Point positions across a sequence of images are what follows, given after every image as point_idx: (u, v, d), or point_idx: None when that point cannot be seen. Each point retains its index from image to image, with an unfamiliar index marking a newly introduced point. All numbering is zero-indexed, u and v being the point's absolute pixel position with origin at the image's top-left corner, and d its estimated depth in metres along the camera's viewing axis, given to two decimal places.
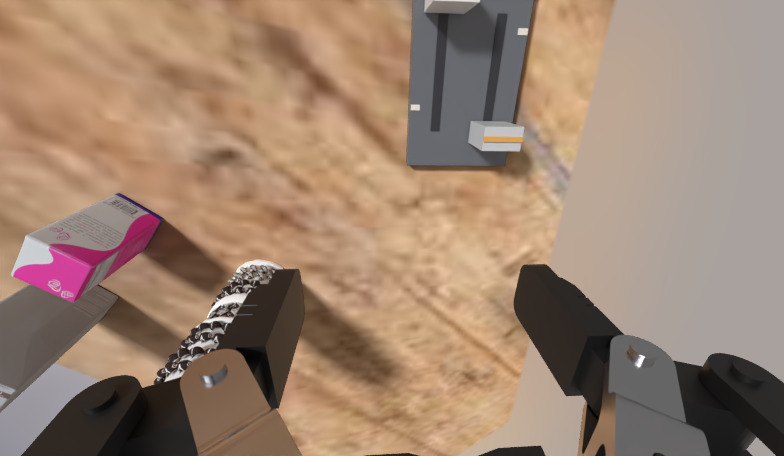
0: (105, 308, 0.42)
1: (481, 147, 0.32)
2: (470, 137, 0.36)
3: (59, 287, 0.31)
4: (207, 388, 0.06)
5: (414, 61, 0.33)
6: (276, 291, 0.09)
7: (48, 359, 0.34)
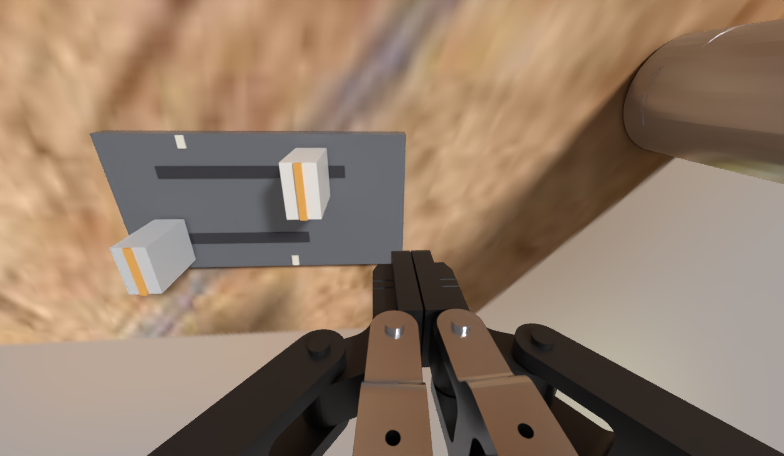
0: None
1: (116, 246, 0.22)
2: (158, 222, 0.26)
3: None
4: (399, 339, 0.07)
5: (240, 137, 0.24)
6: (404, 268, 0.10)
7: None
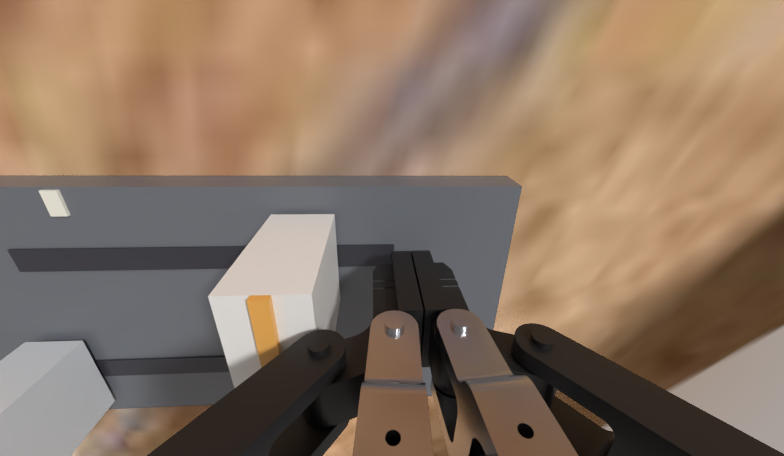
0: None
1: None
2: (26, 352, 0.13)
3: None
4: (399, 339, 0.07)
5: (181, 194, 0.12)
6: (404, 268, 0.10)
7: None
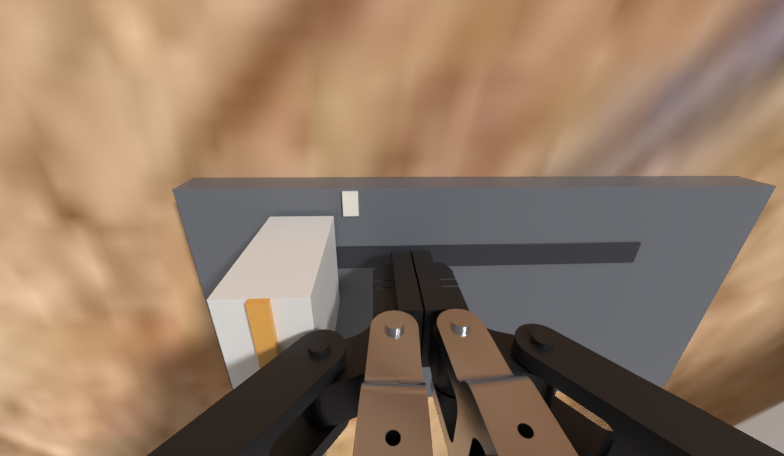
0: None
1: None
2: None
3: None
4: (399, 339, 0.07)
5: (466, 194, 0.12)
6: (404, 268, 0.10)
7: None
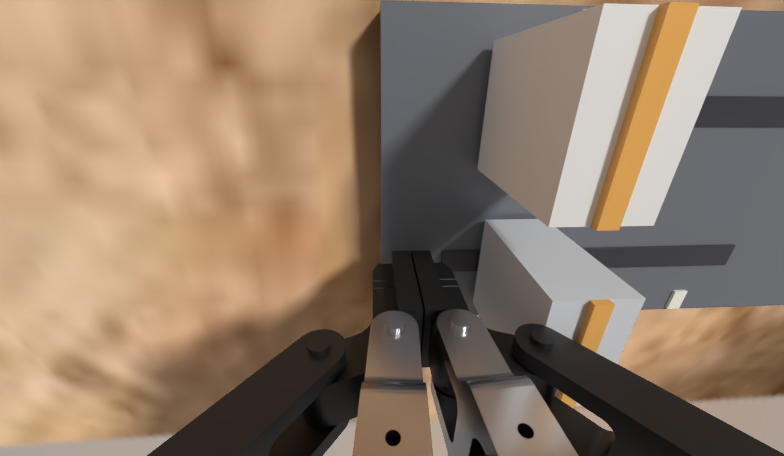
0: None
1: (558, 294, 0.08)
2: (508, 226, 0.12)
3: None
4: (399, 339, 0.07)
5: None
6: (404, 268, 0.10)
7: None
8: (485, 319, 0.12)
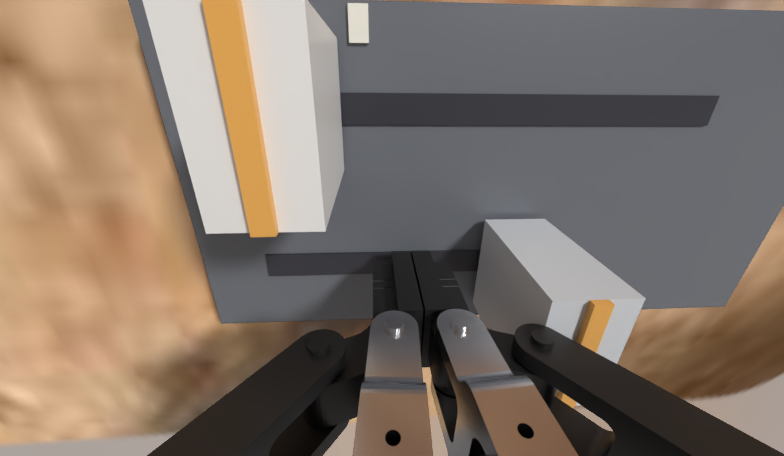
0: None
1: (557, 294, 0.08)
2: (508, 226, 0.12)
3: None
4: (399, 339, 0.07)
5: (506, 15, 0.10)
6: (404, 268, 0.10)
7: None
8: (485, 319, 0.12)
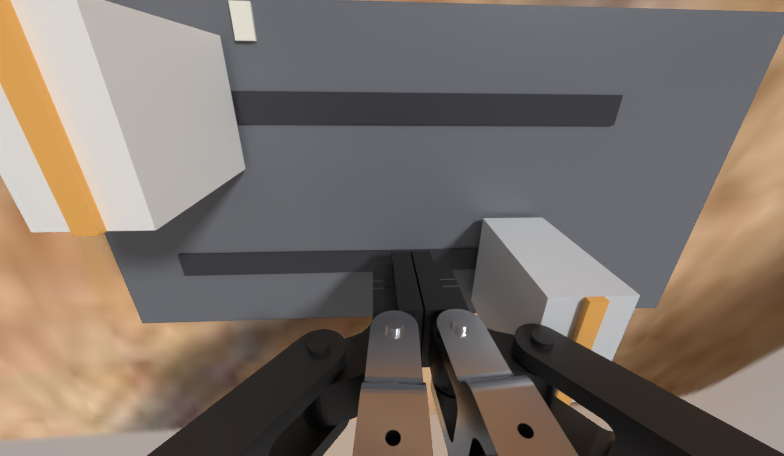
0: None
1: (553, 290, 0.08)
2: (505, 224, 0.12)
3: None
4: (399, 339, 0.07)
5: (394, 13, 0.09)
6: (404, 268, 0.10)
7: None
8: (483, 317, 0.12)
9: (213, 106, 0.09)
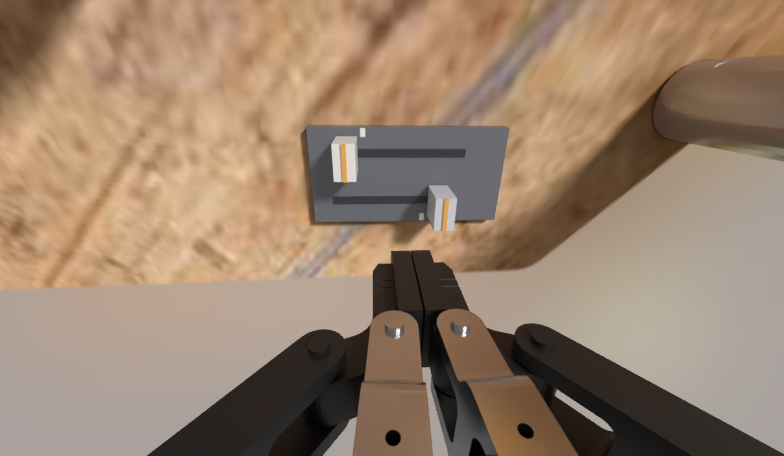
0: None
1: (438, 198, 0.35)
2: (434, 186, 0.39)
3: None
4: (399, 339, 0.07)
5: (401, 129, 0.37)
6: (404, 268, 0.10)
7: None
8: (428, 216, 0.39)
9: None
